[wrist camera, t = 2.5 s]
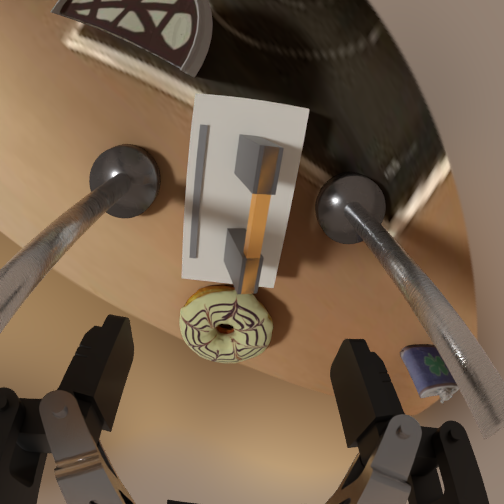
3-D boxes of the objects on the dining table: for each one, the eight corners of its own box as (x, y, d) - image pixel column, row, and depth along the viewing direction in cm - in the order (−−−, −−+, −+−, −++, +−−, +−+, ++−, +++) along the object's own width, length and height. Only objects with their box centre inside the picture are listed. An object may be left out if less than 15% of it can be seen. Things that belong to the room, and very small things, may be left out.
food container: (249, 32, 20) (254, -5, 11) (208, 84, 23) (188, 74, 14) (141, -19, 17) (98, -60, 8) (104, 31, 19) (45, 10, 10)
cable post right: (308, 232, 30) (402, 482, 8) (323, 165, 26) (515, 384, 5) (368, 241, 30) (494, 444, 9) (387, 180, 27) (576, 354, 6)
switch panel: (186, 262, 31) (181, 279, 28) (200, 94, 23) (195, 93, 20) (270, 271, 32) (273, 289, 29) (302, 108, 24) (310, 109, 21)
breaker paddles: (223, 260, 27) (237, 294, 23) (239, 134, 21) (259, 145, 17) (240, 260, 27) (257, 293, 23) (259, 136, 22) (283, 147, 18)
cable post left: (97, 209, 28) (-58, 401, 6) (96, 143, 24) (-126, 286, 3) (159, 215, 28) (38, 459, 7) (162, 145, 25) (-58, 340, 4)
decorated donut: (248, 265, 32) (249, 286, 28) (283, 331, 37) (286, 353, 33) (166, 297, 33) (159, 318, 30) (210, 354, 38) (208, 376, 35)
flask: (396, 355, 40) (421, 408, 31) (406, 342, 39) (434, 396, 30) (433, 357, 42) (458, 403, 32) (442, 345, 40) (470, 391, 31)
